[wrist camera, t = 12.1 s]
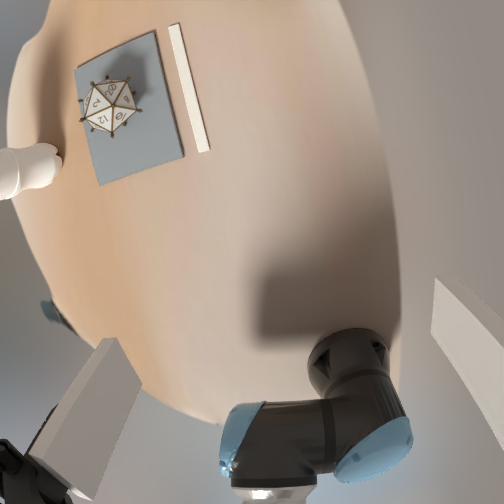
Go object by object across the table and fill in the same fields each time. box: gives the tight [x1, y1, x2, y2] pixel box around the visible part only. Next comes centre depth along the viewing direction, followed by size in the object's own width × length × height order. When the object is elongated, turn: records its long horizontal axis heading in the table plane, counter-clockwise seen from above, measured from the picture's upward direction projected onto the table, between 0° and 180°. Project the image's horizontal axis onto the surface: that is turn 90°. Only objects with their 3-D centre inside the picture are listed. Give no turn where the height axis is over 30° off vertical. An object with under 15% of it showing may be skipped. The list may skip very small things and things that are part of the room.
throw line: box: [168, 24, 210, 153], centre depth 35 cm, size 20×2×1 cm, turn 14°
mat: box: [74, 32, 184, 186], centre depth 36 cm, size 20×14×1 cm
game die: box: [78, 75, 143, 139], centre depth 32 cm, size 9×8×10 cm
